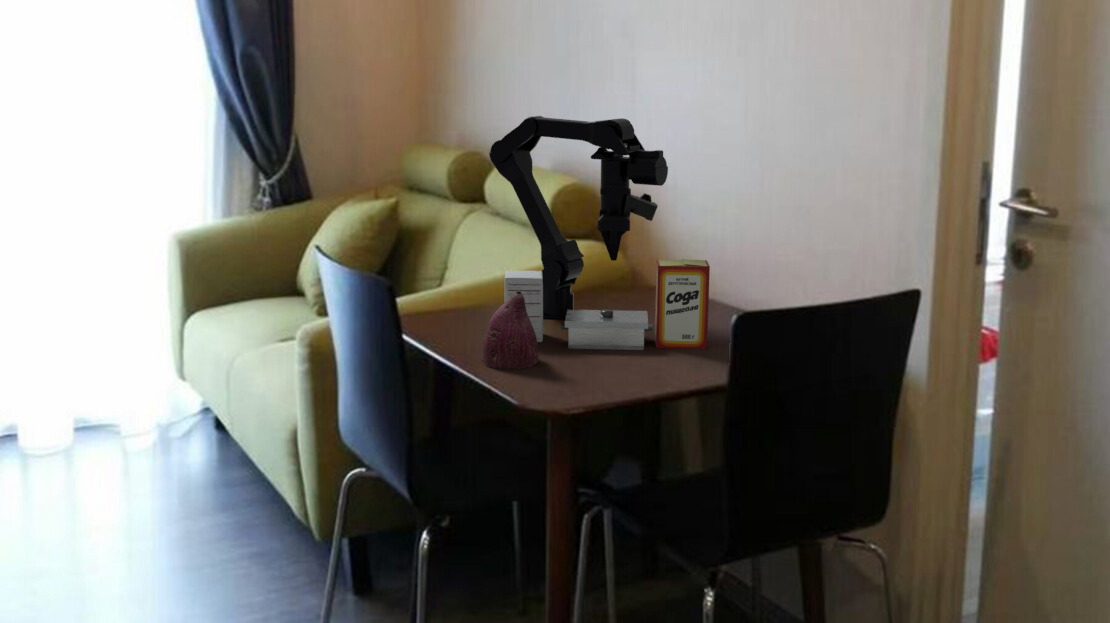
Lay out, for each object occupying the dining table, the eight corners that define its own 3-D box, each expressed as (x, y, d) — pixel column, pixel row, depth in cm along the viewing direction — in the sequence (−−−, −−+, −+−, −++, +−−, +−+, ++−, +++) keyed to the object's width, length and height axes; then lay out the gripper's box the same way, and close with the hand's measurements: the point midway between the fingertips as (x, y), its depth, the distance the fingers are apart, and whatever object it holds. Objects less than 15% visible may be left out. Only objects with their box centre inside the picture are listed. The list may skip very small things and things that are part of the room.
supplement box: (505, 333, 236) (505, 270, 233) (543, 333, 236) (543, 270, 233) (504, 342, 229) (503, 277, 226) (543, 342, 229) (543, 277, 226)
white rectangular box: (559, 348, 224) (560, 327, 223) (562, 336, 234) (562, 316, 233) (652, 350, 223) (652, 329, 222) (651, 337, 233) (651, 317, 232)
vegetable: (545, 381, 214) (566, 304, 209) (495, 381, 209) (516, 303, 203) (517, 354, 222) (537, 280, 217) (468, 354, 217) (487, 278, 211)
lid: (564, 327, 223) (564, 315, 223) (567, 315, 233) (567, 304, 233) (648, 329, 222) (648, 317, 222) (647, 316, 233) (647, 305, 232)
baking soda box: (656, 348, 225) (658, 263, 222) (654, 339, 231) (656, 257, 228) (707, 348, 225) (709, 264, 221) (704, 340, 231) (706, 258, 228)
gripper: (656, 188, 229) (655, 269, 233) (654, 178, 248) (652, 253, 251) (598, 187, 230) (597, 268, 233) (600, 177, 248) (599, 252, 252)
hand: (613, 260), depth 242 cm, fingers closed
